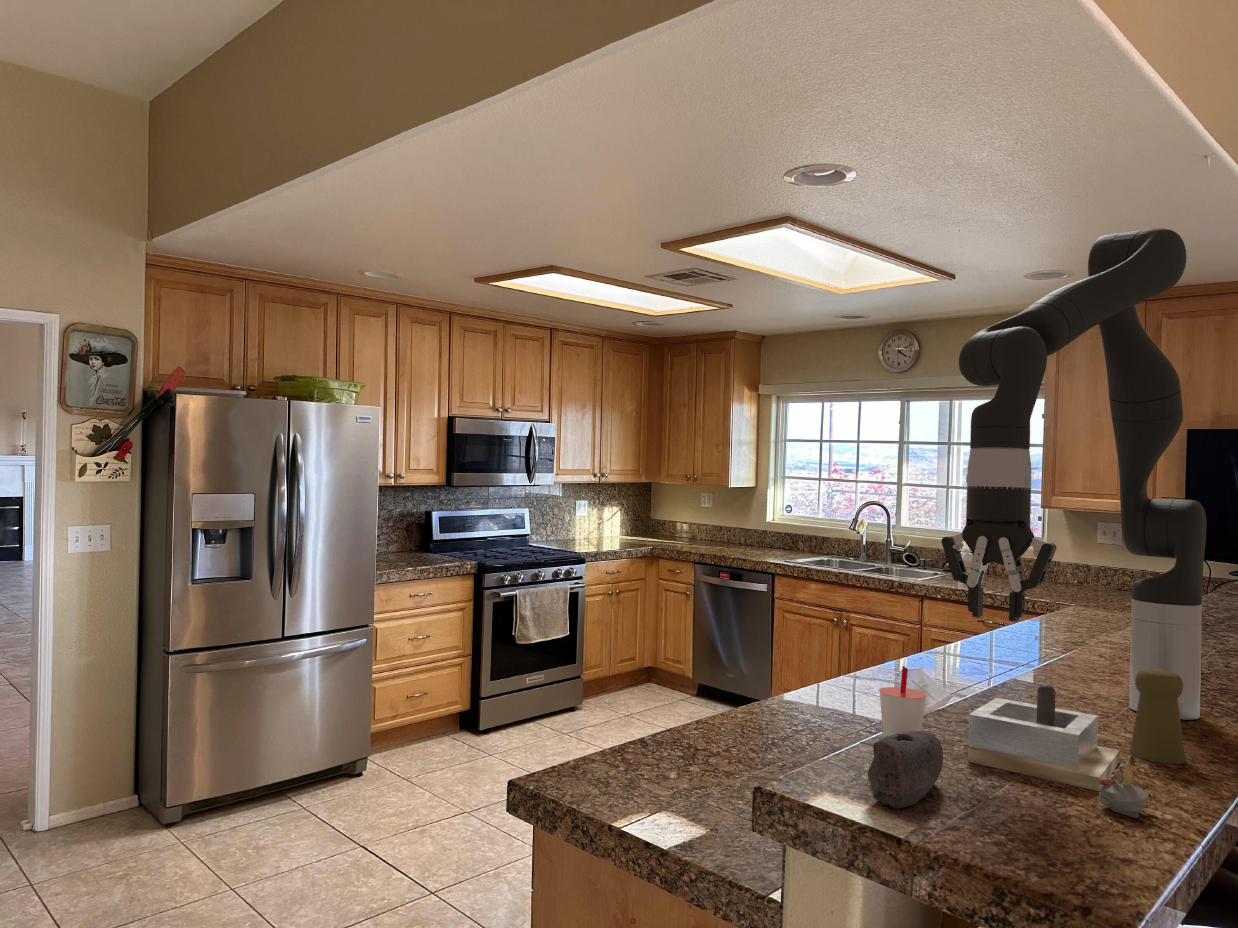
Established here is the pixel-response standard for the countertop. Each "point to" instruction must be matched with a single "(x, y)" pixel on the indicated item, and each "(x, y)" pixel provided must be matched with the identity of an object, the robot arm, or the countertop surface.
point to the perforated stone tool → (905, 767)
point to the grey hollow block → (1033, 733)
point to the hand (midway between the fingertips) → (995, 617)
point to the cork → (1158, 717)
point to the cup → (901, 708)
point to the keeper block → (1082, 778)
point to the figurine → (1122, 792)
